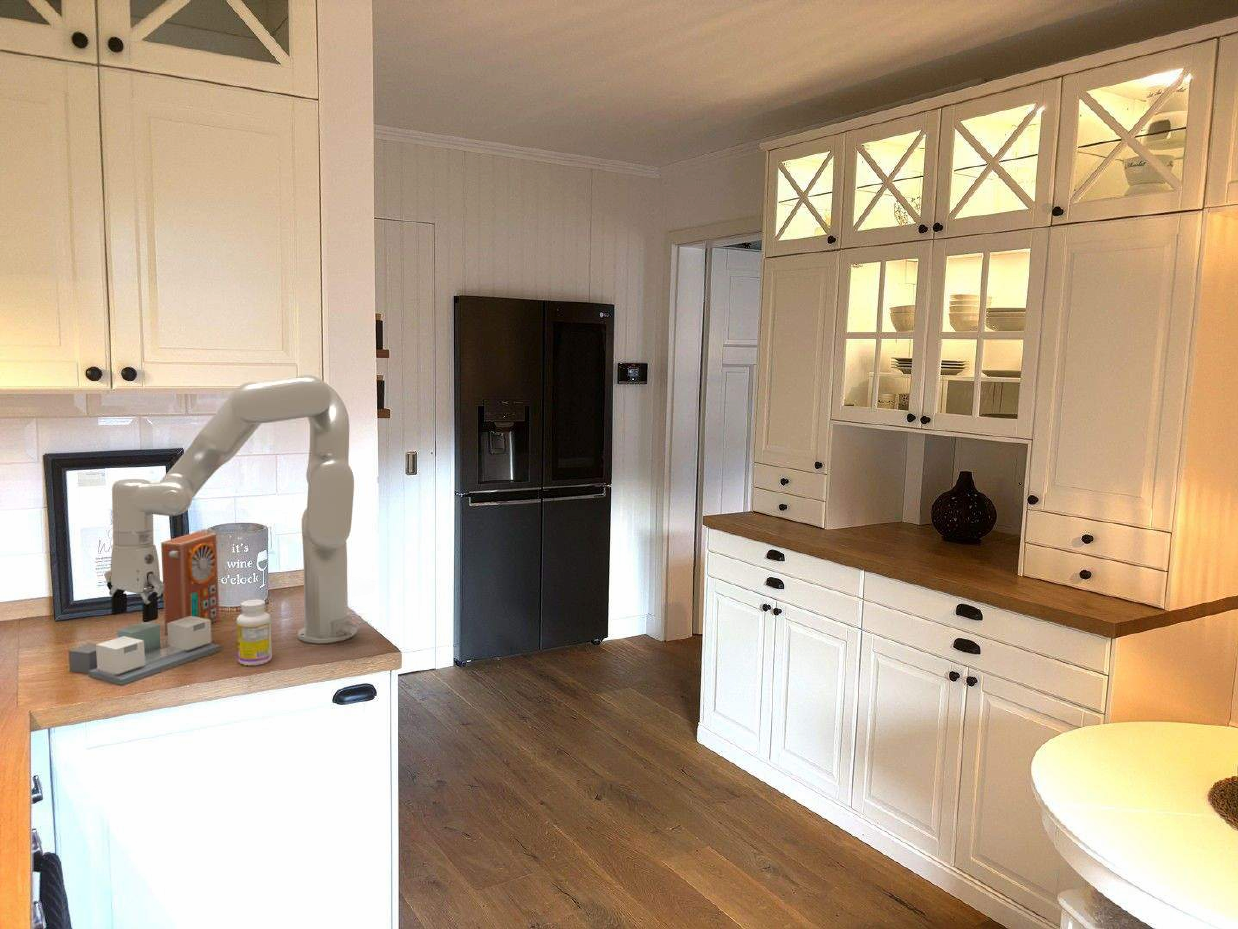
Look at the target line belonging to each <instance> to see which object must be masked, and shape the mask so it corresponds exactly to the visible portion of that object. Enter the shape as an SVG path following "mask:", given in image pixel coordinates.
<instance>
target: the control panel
mask: <svg viewBox="0 0 1238 929" xmlns="http://www.w3.org/2000/svg"><path fill="white" fill-rule="evenodd" d="M217 543H218V540H217V533H216V532H206V531H204V532H203V531H195V532H192V533H188V534H185V535H182V536H178V537H175V538H171V539H168V540H166V541H162V542H160V547H161V551H160V552H161V569H162V570H161V571H162V572H161V574H162V582H163V583H164V585H165V587H164V589H163V592H162V596H163V615H164V616H163V617H164V618H163V619H164V633H165V634H168V631H167V623H169V622H172V621H176V620H179V619H182V618H186V617H189V616H194V617H199V618H204V619H209V620H211V624H212V623H214V622H216V621H219V620H220V608H221V607H220V600H219V574H218V573H219V571H218V550H217V549H218V547H217V546H218V544H217Z"/></svg>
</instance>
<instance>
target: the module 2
mask: <svg viewBox="0 0 1238 929" xmlns="http://www.w3.org/2000/svg"><path fill="white" fill-rule="evenodd" d="M160 627H161V626H160V624H157V623H153V622H143V621H142V622H140V623H137V624H133V625H129V626H127V627H123V628H120V629H117V638H119V637H123V636H126V637H130V638H134V639H139V640H143V641H144V652H147V651H150V650H154V649H157V648H160V647H162V646H161V629H160Z"/></svg>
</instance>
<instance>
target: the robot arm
mask: <svg viewBox="0 0 1238 929" xmlns="http://www.w3.org/2000/svg"><path fill="white" fill-rule="evenodd" d="M302 418H307V419H308V423H309V449H308V450H309V452H308V460H307V468H306V473H305V474H306V477H305V478H306V481H307V486H308V487H307V503H306V508H305V510H304V511H303V514H302V517H301V536H302V557H303V558H302V559H303V561H302V562H303V563H302V564H303V593H304V594H303V604H304V627H302V628H300V629H299V630H298V631H297V638H298V639H299V640H300V641H302V642H305V643H310V644H332V643H338V642H342V641H346V640H348V639H350V638H352V637H354V636H355V635H356V634H357V631H358V630H359V629H360V624H359V623H355V622H354V623H353V622H352V616H351V615H349V608H348V606H349V603H348V601H349V600H348V593H349V592H348V550H347V549H348V546H347V540H348V539H349V537H350V534H351V530H352V520H353V507H354V493H355V478H354V477H355V476H354V473H353V470H352V468H351V467H350V465H349V464H350V463H349V455H350V454H349V453H350V418H349V413H348V410H347V408H346V405H345V403H344V401H343V399H342V398H341V396H340V395H339V393H338V392H337V391H336V390H335V389H334V388H333V387H332V386H330V385H329V384H328V383H327V382H325V381H324V380H323V379H321V378H319V377H317V376H315V375H312V374H303V375H299V376H297V377H295V378H291V379H285V380H284V379H283V380H278V381H269V382H255V381H250V382H249V381H247V382H245V383H242V384H240V386H238V387H237V388H235V390H234V392H232V394H230V396H229V397H228V398H227V400H226V401H225V402H224V403H223V404H222V405H221V406H220V408H219V409H218V410H217V411H216V413H215V414H214V415H213V416H212V417H211V418H210V420H209V421H208V422H207V423H206V424H205V425H204V426H203V427H202V429H201V430H199V432H198V434H197V435H196V436H195V437H194V439H193V440H192V442H191V443H190V445H189V446H188V448H187V449H186V450H185V452H184V453H183V454H182V455H181V456H180V458H178V460H177V461H176V462H175V463H174V465H173V466H172V467H171V468H170V469H169V470H168V472H166V473H165V475H164V476H163V477H162V478H161V480H160V481H159V482H151V481H149V480H147V479H141V478H127V479H120V480H119V479H118V480H117V481H115V482H114V483H113V484H112V486H111V492H112V493H111V495H112V496H111V500H112V501H111V502H112V504H111V505H112V507H111V508H112V547H111V548H112V550H111V556H110V570H107V571H106V572H105V573H104V578H105V581H106V587H107V588H108V590H109V596H110V597H111V599H110V602H111V607H110V609H111V614H112V615H114V616H115V615H119V614H122V613H127V611H128V596H127V593H125V592H128V593H133V594H137V595H139V594H140V597H141V598H142V600H143V603H142V606H141V608H142V610H141V611H142V613H141V614H142V617H141V618H142V623H143V622H148V623H150V622H152V621H153V622H154V621H156V620H157V619H158V618H159V610H158V609H159V608H158V607H159V602H160V601H161V597H162V596H163V589H164V587H165V585H164V583H163V580H161V574H160V562H159V555H158V550H157V547H156V544H154V516H155V515H157V516H166V517H176V516H180V515H182V514H184V513H186V512H187V511H188V510H189V508H190V506H191V505H192V502H193V499H194V498H195V496H196V495H197V494H198V493H199V491H200V490H201V489H202V487H203V486H204V485H205V484H206V483H207V481H209V479H210V478H211V477H212V476H213V475H214V474H215V473H216V471H218V470H219V469H220V468H221V467H222V466H223V465H226V464H227V463H228V462H230V461H231V459H233V457H235V455H237V453H238V452H239V451H240V450H241V448H242V447H243V446H244V445H245V444H246V442H248V440H249V439H250V438H251V436H252V435H253V434H254V432H255V431H257V429H258V428H259V427H260V425H262V424H267V423H268V424H269V423H277V422H283V421H284V422H285V421H289V420H296V419H297V420H298V419H302ZM148 594H150V595H148Z"/></svg>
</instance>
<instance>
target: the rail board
mask: <svg viewBox="0 0 1238 929" xmlns="http://www.w3.org/2000/svg"><path fill="white" fill-rule="evenodd" d="M167 647H170V646H168V644H166V645H163V646H161V647H160V648H157V649H154V650H150V651H147V652H145V654H149V653H152V652H155V651H158V650H161V649H164V648H167ZM217 651H218V652H221V646H220V645H219V644H215V643H212V642H210V643H209V644H208V645H205V646H202V647H199V648H196V649H193V650H190V651H187V652H184V653H181V654H179V655H176V656H173V657H170V658H167V659H164V660H161V661H158V662H155V663H152V664H149V665H146V666H143V667H141V668H138V669H135V670H132V671H129V672H126V673H123V674H120V675H117V676H112V675H108V674H104V673H100V669H97V668H95V669H92V670H89V674H88V677H89V678H92V677H93V678H92V679H97V680H101V681H104V682H108V683H112V684H116V685H119V686H125V685H128V684H131V683H133V682H137V681H139V680H142V679H145V678H147V677H151V676H153V675H156V674H159V673H162V672H163V671H162V670H165V669H167V670H170V669H172V668H176V667H178V665H179V666H181V665H180V664H182V665H184V664H186V663H185V662H187V663H189V662H192V660H193V661H195V659H196V660H198V659H201V658H203V657H202V656H204V657H206V655H207V656H210V655H212V653H213V654H215V653H218V652H217ZM209 654H210V655H209ZM200 657H201V658H200ZM197 658H198V659H197ZM183 663H184V664H183ZM175 666H176V667H175ZM161 671H162V672H161ZM165 671H166V670H165ZM158 672H159V673H158ZM150 675H151V676H150Z"/></svg>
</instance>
